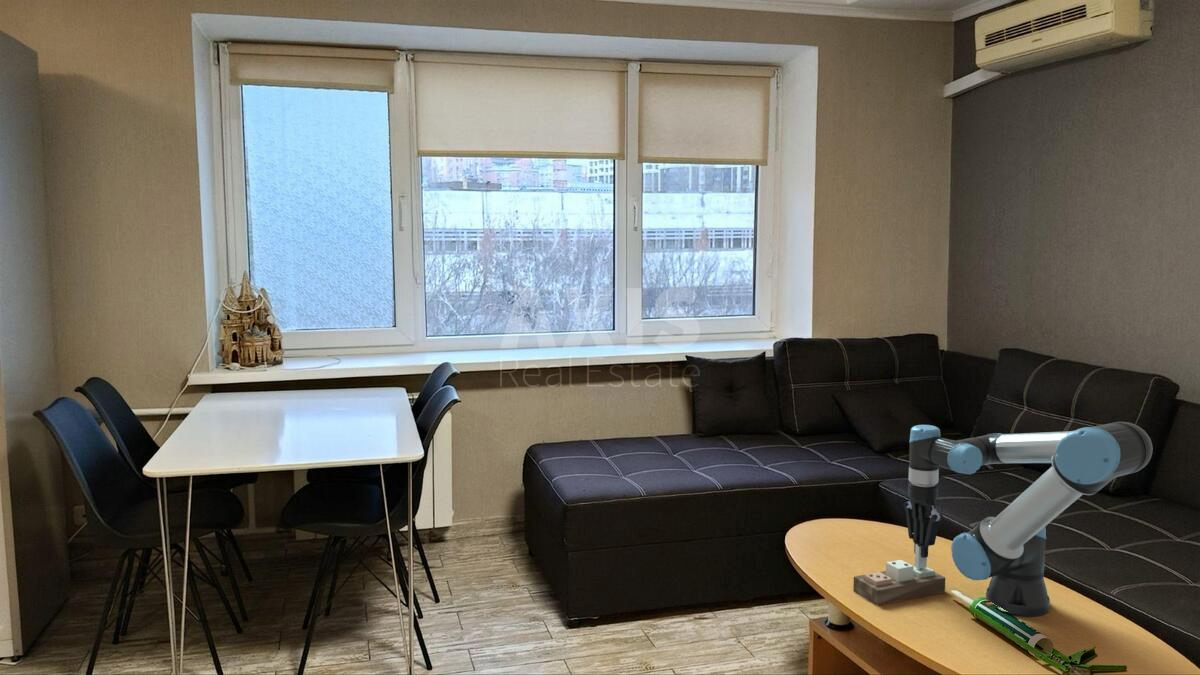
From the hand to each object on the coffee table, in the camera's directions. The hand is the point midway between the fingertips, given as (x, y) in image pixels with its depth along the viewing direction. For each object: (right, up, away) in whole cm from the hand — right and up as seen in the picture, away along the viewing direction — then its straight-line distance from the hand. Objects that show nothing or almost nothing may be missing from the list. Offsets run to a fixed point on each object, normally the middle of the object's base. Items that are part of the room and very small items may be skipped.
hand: (920, 567), depth 246 cm
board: (-6, -6, -2) cm, 9 cm away
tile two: (-6, -3, -2) cm, 8 cm away
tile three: (-13, -6, -4) cm, 15 cm away
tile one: (0, -5, +1) cm, 5 cm away
